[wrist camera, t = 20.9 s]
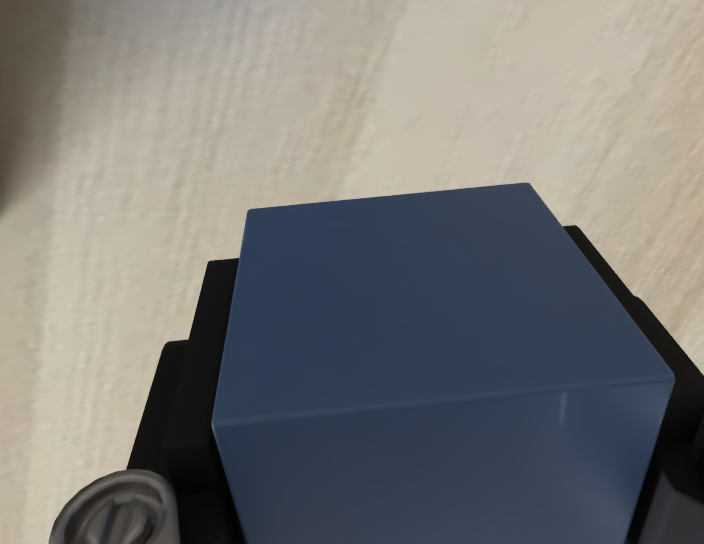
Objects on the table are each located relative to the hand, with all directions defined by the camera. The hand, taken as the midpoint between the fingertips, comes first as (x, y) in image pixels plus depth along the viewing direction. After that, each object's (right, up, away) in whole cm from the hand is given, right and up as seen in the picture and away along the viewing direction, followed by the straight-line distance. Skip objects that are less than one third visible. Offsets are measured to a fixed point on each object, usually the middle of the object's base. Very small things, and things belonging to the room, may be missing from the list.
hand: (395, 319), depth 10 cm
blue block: (0, 0, 0) cm, 0 cm away
